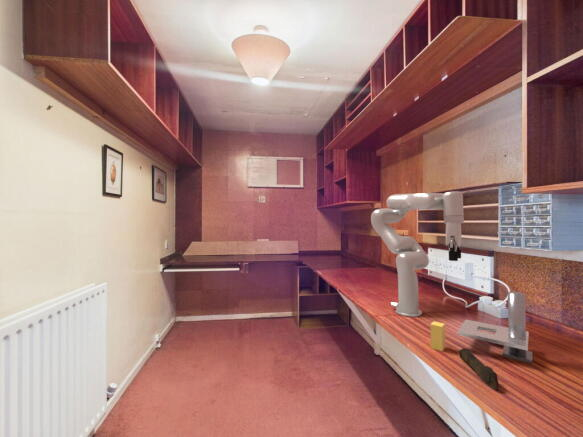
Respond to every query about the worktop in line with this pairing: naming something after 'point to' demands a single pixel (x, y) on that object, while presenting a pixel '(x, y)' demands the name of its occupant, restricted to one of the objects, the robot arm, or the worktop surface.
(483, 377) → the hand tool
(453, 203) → the robot arm
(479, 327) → the gray plate with post
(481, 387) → the worktop surface
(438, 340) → the yellow block
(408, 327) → the worktop surface
